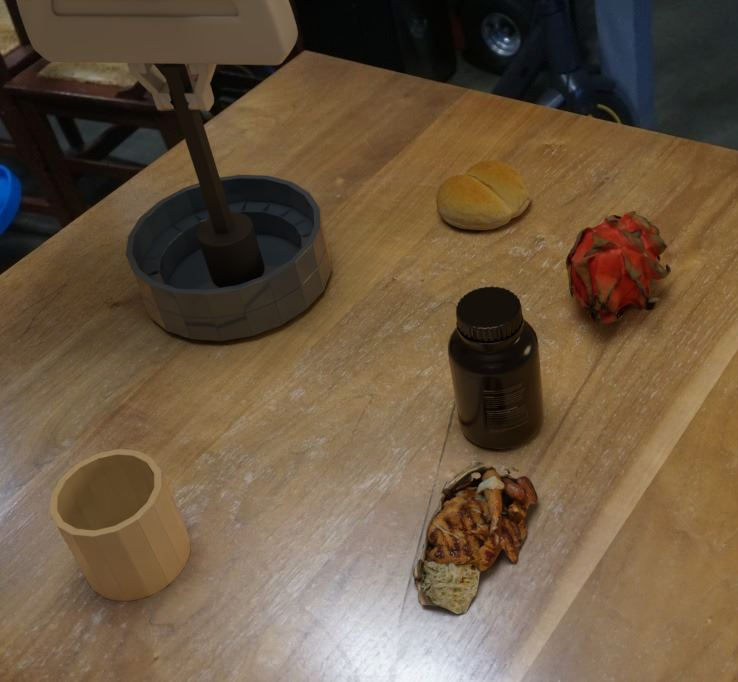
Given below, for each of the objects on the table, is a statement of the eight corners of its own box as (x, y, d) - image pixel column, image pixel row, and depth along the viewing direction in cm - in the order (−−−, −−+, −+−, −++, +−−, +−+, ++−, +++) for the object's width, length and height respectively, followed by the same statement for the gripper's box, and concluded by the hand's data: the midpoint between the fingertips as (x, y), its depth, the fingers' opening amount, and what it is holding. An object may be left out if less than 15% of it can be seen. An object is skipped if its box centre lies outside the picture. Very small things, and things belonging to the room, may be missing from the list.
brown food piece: (398, 602, 76) (391, 571, 73) (456, 471, 84) (451, 440, 81) (495, 625, 74) (491, 595, 71) (544, 489, 82) (542, 457, 80)
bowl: (116, 339, 97) (94, 288, 93) (185, 221, 110) (168, 171, 106) (302, 351, 95) (288, 298, 91) (352, 228, 107) (341, 177, 103)
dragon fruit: (647, 268, 102) (605, 366, 96) (573, 216, 101) (526, 312, 94) (701, 226, 95) (660, 329, 89) (623, 170, 94) (575, 270, 87)
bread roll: (422, 209, 109) (417, 175, 106) (494, 172, 112) (491, 139, 110) (473, 247, 104) (469, 213, 101) (545, 207, 108) (544, 174, 105)
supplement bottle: (555, 398, 89) (549, 285, 81) (527, 460, 84) (518, 347, 76) (476, 381, 91) (462, 269, 83) (445, 441, 86) (427, 329, 78)
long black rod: (203, 288, 97) (131, 78, 83) (221, 254, 101) (155, 46, 86) (255, 291, 97) (191, 79, 82) (271, 256, 100) (213, 47, 86)
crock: (71, 599, 78) (30, 530, 72) (113, 515, 83) (78, 445, 77) (169, 609, 76) (135, 540, 71) (206, 523, 82) (177, 453, 76)
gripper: (287, -84, 78) (323, 88, 88) (23, -82, 81) (85, 84, 91) (259, -45, 74) (300, 132, 83) (-19, -44, 77) (51, 125, 86)
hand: (186, 107), depth 87 cm, fingers closed on long black rod
